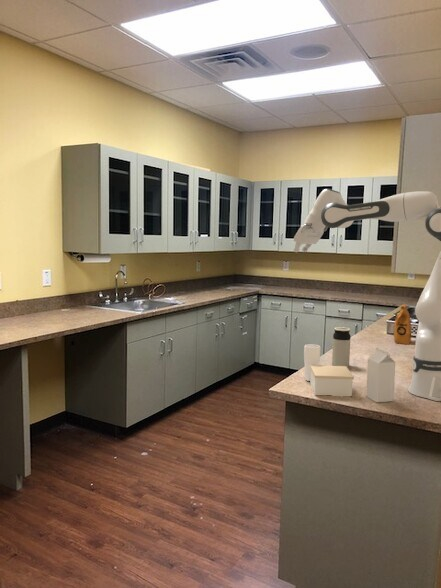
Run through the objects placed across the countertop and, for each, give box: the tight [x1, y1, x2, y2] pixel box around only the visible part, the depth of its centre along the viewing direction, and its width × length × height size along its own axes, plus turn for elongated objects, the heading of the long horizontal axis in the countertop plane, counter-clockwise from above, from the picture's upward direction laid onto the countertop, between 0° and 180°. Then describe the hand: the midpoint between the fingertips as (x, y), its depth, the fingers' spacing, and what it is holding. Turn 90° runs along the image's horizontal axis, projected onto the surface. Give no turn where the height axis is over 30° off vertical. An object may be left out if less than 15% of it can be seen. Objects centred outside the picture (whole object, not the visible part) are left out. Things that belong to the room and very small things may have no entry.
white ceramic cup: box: [303, 343, 321, 382], centre depth 197 cm, size 7×7×15 cm
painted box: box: [309, 364, 355, 397], centre depth 185 cm, size 15×15×8 cm
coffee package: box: [393, 303, 412, 345], centre depth 273 cm, size 10×12×22 cm
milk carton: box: [365, 347, 396, 403], centre depth 175 cm, size 7×7×19 cm
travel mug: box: [331, 326, 351, 368], centre depth 221 cm, size 8×8×18 cm
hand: (299, 251), depth 207 cm, fingers open, 8 cm apart
